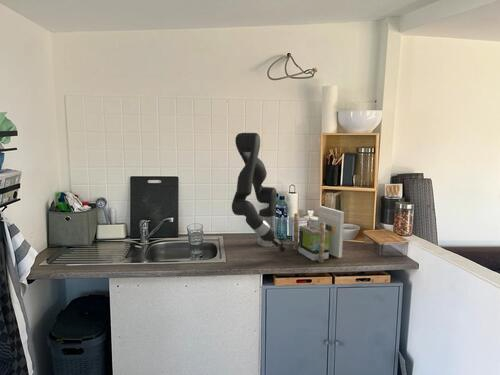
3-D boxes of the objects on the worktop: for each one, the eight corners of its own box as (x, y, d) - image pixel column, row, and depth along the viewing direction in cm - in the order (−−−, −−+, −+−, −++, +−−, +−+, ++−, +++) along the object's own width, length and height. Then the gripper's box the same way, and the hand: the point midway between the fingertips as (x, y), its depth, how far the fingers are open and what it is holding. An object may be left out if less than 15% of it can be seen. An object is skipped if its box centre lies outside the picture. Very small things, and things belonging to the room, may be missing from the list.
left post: (292, 249, 206) (293, 213, 203) (296, 248, 207) (297, 213, 204) (294, 250, 204) (296, 214, 201) (298, 249, 205) (299, 214, 202)
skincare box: (311, 246, 211) (312, 219, 209) (306, 243, 217) (307, 217, 215) (324, 245, 213) (326, 219, 211) (320, 242, 219) (321, 216, 217)
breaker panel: (315, 248, 207) (316, 206, 204) (319, 247, 209) (321, 205, 205) (337, 258, 192) (339, 212, 188) (341, 257, 193) (344, 212, 190)
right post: (317, 261, 187) (319, 222, 184) (321, 260, 188) (323, 222, 185) (320, 262, 185) (322, 223, 182) (324, 262, 186) (326, 223, 183)
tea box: (329, 258, 191) (330, 230, 189) (312, 261, 187) (313, 232, 185) (313, 250, 205) (314, 223, 203) (297, 252, 201) (298, 225, 199)
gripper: (275, 226, 175) (295, 248, 183) (261, 220, 187) (280, 241, 194) (265, 238, 173) (286, 260, 181) (251, 232, 185) (272, 252, 193)
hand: (283, 250), depth 188 cm, fingers closed
